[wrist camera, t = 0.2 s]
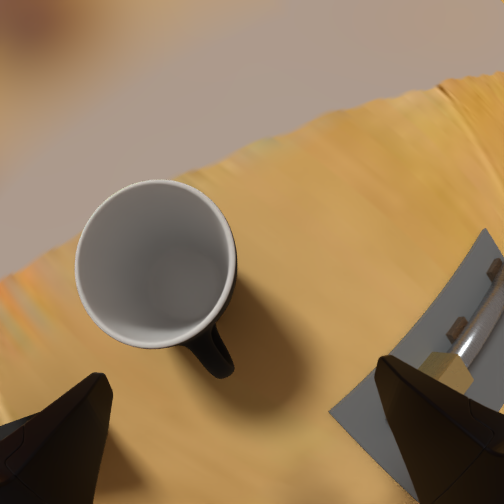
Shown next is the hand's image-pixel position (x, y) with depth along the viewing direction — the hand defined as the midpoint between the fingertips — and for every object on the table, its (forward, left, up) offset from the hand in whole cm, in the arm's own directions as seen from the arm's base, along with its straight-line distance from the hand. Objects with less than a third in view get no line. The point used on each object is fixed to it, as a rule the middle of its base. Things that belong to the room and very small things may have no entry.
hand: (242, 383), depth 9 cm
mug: (+5, +1, -15) cm, 16 cm away
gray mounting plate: (-17, -16, -15) cm, 28 cm away
